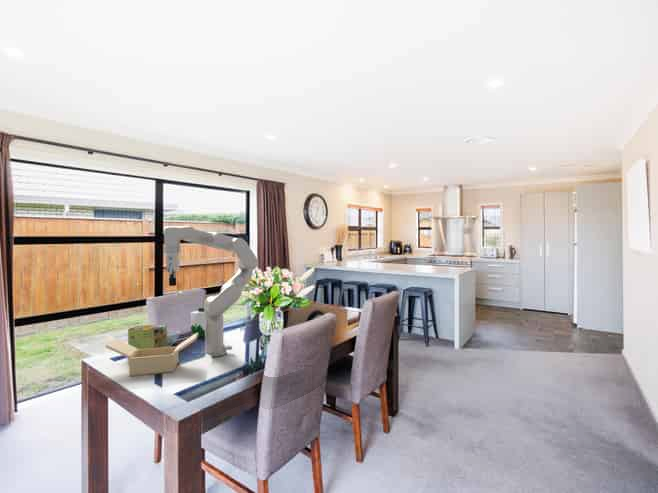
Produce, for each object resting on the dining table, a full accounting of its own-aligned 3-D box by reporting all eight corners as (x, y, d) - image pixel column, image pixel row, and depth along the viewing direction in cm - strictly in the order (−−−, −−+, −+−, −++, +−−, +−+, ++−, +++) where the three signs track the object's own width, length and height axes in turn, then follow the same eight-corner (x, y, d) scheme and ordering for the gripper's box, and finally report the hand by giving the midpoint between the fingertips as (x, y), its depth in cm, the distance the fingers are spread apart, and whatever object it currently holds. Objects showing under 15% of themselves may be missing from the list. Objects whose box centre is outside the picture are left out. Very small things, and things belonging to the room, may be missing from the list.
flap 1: (137, 348, 165) (115, 338, 163) (130, 356, 154) (106, 344, 151) (136, 350, 165) (114, 339, 163) (129, 358, 154) (105, 347, 151)
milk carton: (209, 339, 223) (208, 308, 223) (195, 342, 216) (195, 310, 217) (202, 337, 229) (201, 306, 229) (188, 340, 222) (188, 308, 222)
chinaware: (152, 344, 204) (152, 331, 204) (180, 341, 209) (179, 328, 209) (149, 351, 190) (148, 337, 190) (178, 348, 195) (178, 334, 195)
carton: (178, 362, 171) (178, 346, 171) (173, 372, 157) (173, 354, 157) (138, 366, 166) (137, 349, 166) (129, 376, 153) (129, 358, 153)
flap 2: (178, 347, 170) (198, 333, 172) (174, 354, 158) (195, 339, 161) (177, 345, 170) (197, 332, 172) (173, 352, 158) (194, 338, 161)
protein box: (154, 360, 174) (153, 329, 174) (127, 359, 177) (127, 328, 178) (167, 354, 185) (167, 325, 185) (142, 352, 188) (142, 324, 188)
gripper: (177, 250, 173) (178, 286, 173) (182, 250, 188) (182, 283, 188) (161, 250, 171) (161, 287, 171) (167, 250, 186) (167, 284, 186)
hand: (172, 285), depth 180 cm, fingers closed
